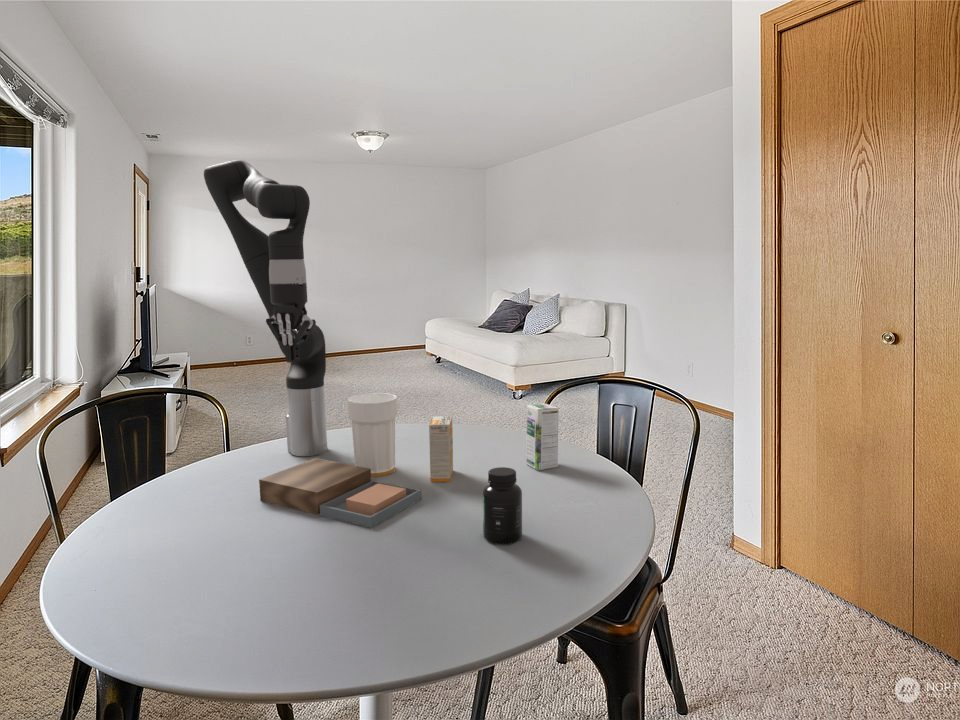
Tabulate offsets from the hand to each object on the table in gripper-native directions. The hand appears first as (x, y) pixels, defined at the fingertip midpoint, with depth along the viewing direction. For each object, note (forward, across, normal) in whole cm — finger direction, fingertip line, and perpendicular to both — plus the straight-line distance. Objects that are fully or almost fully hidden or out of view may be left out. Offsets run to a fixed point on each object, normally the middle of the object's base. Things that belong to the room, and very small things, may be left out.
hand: (292, 362), depth 138 cm
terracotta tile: (+24, +25, -4) cm, 35 cm away
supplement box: (+27, +26, +18) cm, 42 cm away
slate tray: (+27, +24, -4) cm, 36 cm away
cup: (+27, +10, +14) cm, 32 cm away
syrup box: (+27, +43, +35) cm, 62 cm away
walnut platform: (+27, +9, -4) cm, 29 cm away
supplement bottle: (+27, +53, -4) cm, 60 cm away
